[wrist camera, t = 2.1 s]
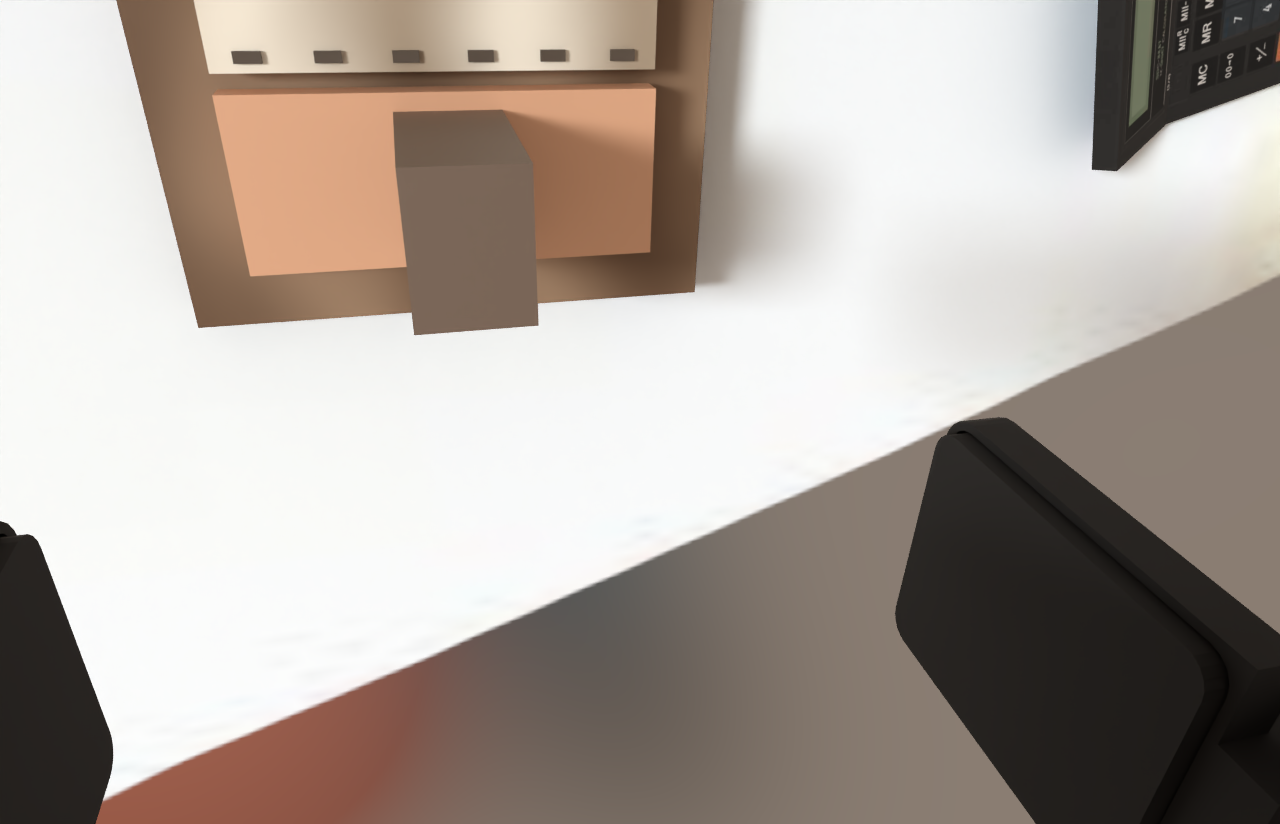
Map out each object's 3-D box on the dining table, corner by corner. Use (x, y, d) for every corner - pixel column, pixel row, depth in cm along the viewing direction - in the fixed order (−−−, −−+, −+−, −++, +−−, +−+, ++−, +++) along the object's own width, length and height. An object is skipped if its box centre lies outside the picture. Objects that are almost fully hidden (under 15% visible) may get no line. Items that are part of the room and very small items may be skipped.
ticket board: (711, -234, 24) (744, -248, 22) (682, 276, 31) (704, 304, 29) (63, -283, 20) (25, -305, 18) (206, 308, 28) (191, 343, 26)
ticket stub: (648, 83, 26) (723, 134, 20) (643, 243, 28) (708, 329, 23) (217, 89, 23) (162, 151, 17) (254, 265, 26) (216, 370, 20)
